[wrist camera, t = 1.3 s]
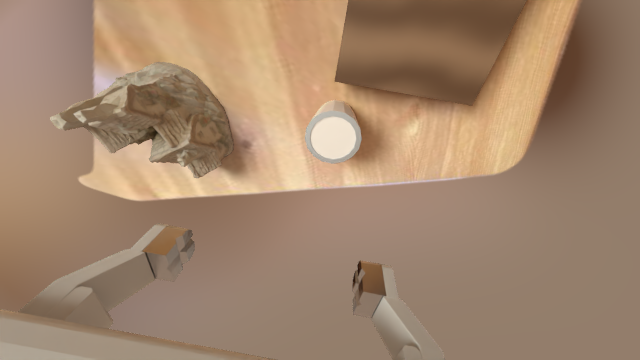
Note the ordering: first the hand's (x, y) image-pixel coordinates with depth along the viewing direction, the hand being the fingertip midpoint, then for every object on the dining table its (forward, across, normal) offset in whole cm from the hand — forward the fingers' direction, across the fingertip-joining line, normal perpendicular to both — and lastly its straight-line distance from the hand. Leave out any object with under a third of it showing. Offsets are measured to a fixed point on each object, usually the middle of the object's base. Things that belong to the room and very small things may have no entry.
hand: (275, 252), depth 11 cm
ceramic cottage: (+26, +22, +6) cm, 35 cm away
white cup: (+26, -2, +1) cm, 26 cm away
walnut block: (+26, -9, -13) cm, 30 cm away
